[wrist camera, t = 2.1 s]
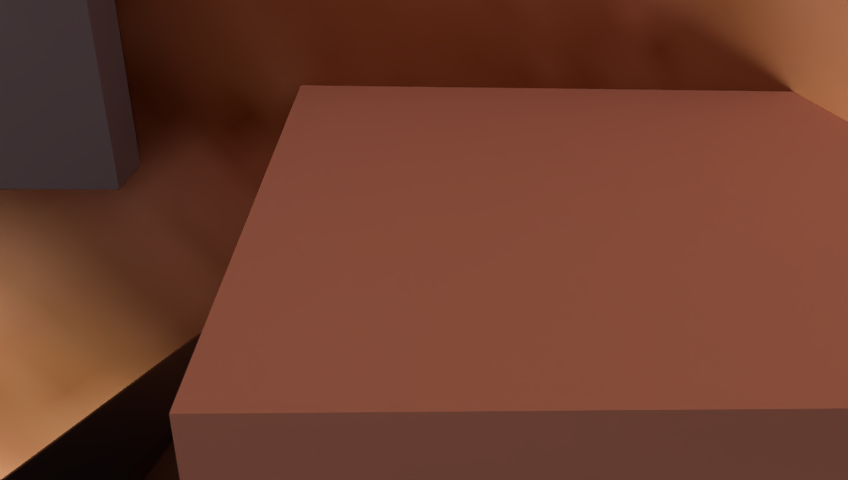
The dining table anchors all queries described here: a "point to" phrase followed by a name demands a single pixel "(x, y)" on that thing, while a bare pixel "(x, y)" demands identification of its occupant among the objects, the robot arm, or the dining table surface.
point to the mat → (64, 97)
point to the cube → (532, 292)
